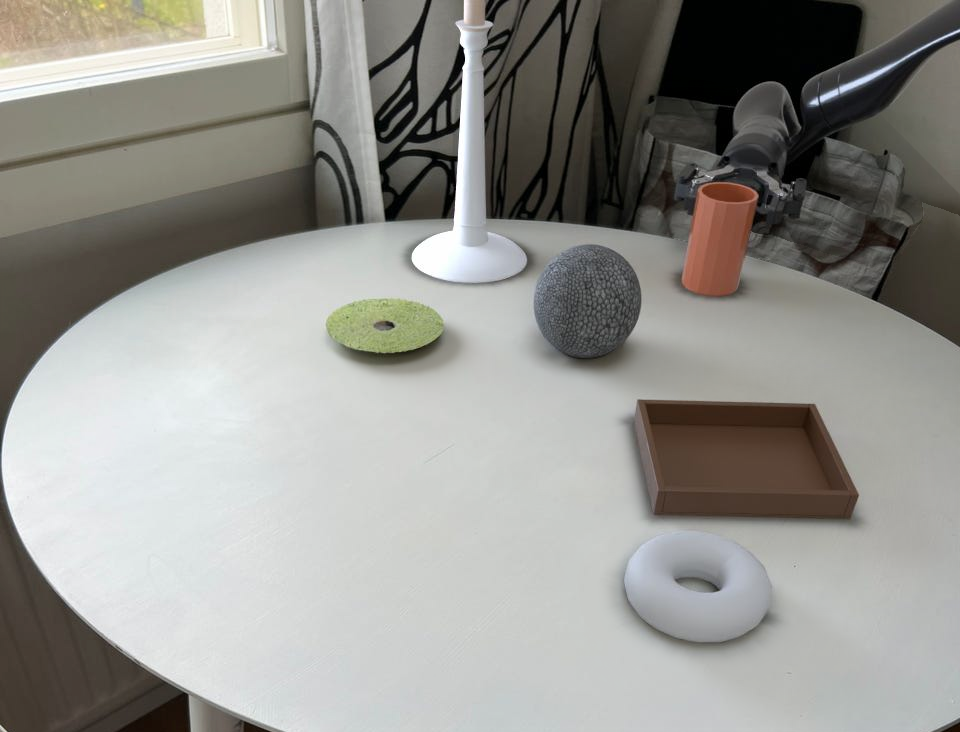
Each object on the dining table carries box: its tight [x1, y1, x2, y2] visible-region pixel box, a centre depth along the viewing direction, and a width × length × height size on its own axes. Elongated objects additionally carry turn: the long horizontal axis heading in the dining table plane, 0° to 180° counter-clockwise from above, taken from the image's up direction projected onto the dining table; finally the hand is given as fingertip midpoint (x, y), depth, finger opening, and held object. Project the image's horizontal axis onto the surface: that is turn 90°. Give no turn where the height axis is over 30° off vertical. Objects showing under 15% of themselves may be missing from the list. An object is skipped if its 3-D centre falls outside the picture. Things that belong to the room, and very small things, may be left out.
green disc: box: [325, 297, 444, 354], centre depth 91 cm, size 11×11×2 cm
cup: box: [681, 182, 759, 297], centre depth 99 cm, size 6×6×10 cm
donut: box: [623, 530, 773, 643], centre depth 65 cm, size 10×4×10 cm
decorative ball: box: [533, 243, 642, 359], centre depth 88 cm, size 10×10×10 cm
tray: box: [633, 398, 860, 520], centre depth 77 cm, size 15×13×3 cm
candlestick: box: [411, 0, 528, 284], centre depth 95 cm, size 13×13×30 cm
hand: (730, 212), depth 103 cm, fingers open, 8 cm apart
